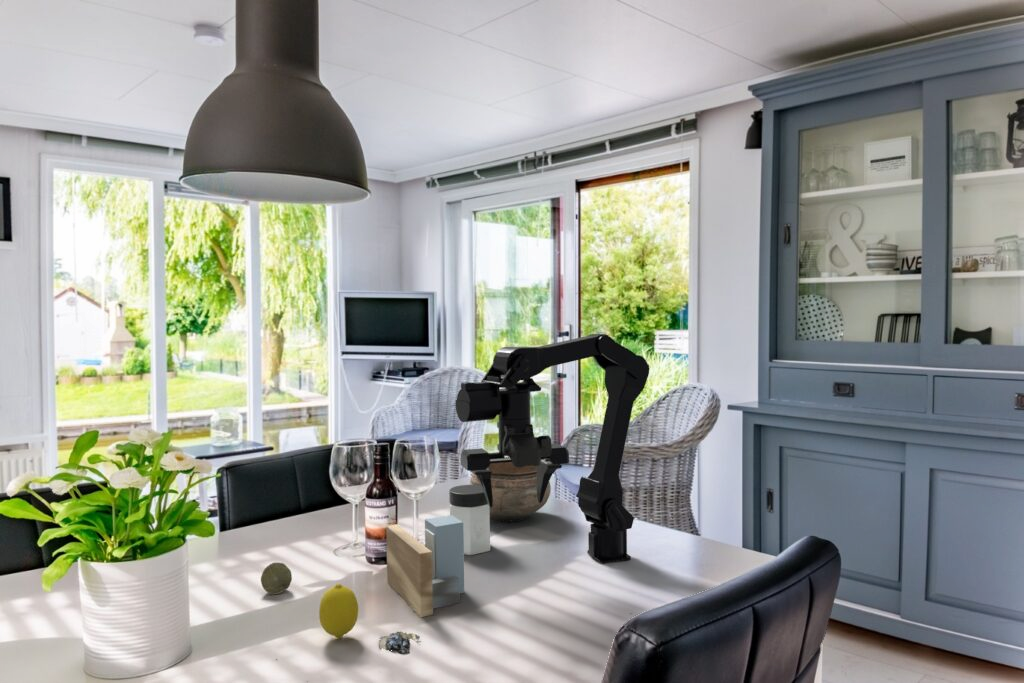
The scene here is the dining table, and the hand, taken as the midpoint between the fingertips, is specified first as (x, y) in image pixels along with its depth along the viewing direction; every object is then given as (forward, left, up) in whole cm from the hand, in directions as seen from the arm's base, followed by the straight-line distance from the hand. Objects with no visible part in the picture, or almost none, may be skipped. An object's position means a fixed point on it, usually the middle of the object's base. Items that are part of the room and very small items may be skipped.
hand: (515, 504), depth 128 cm
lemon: (+32, +15, -13) cm, 38 cm away
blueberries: (+24, +20, -14) cm, 34 cm away
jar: (+4, -18, -13) cm, 23 cm away
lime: (+41, -7, -13) cm, 44 cm away
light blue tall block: (+13, +2, -13) cm, 19 cm away
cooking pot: (-10, -36, -13) cm, 40 cm away
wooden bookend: (+17, +3, -13) cm, 22 cm away
